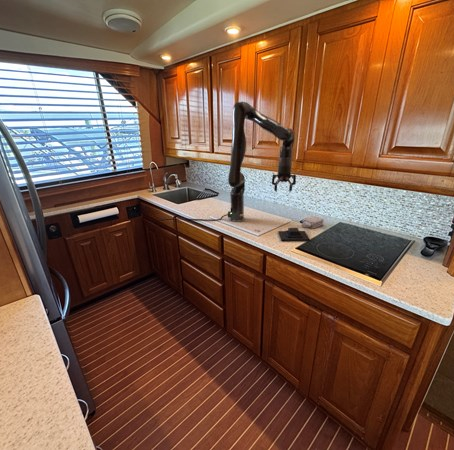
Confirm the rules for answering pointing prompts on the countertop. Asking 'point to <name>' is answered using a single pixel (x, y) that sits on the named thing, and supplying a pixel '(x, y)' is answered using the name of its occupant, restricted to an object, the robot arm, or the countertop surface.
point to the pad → (293, 231)
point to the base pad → (286, 237)
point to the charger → (312, 222)
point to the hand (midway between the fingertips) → (282, 191)
